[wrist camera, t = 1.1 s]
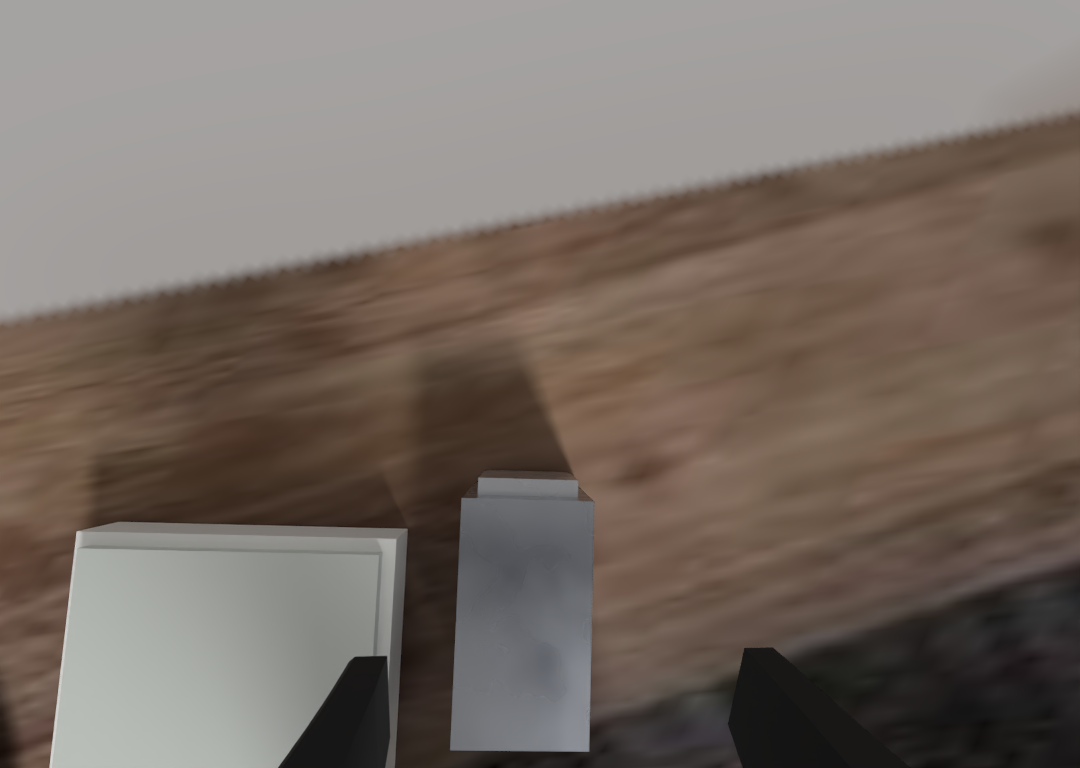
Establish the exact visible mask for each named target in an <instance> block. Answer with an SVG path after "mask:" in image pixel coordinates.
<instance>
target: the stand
mask: <svg viewBox="0 0 1080 768" xmlns="http://www.w3.org/2000/svg"><path fill="white" fill-rule="evenodd" d="M407 537H408V529H398V528H356V527H315V526H273V525H232V524H191V523H149V522H116V523H111V524H107V525H102V526H98V527H94V528H89V529H85V530H81V531H77V534H76V542H75V551H74V560H73V568H72V577H71V586H70V594H69V603H68V612H67V620H66V629H65V638H64V646H63V655H62V663H61V672H60V681H59V689H58V698H57V707H56V715H55V724H54V733H53V741H52V750H51V759H50V767H49V768H278V767H279V766H280V764H281V763H282V761H283V760H284V759H285V757H286V756H287V754H288V753H289V752H290V750H291V749H292V747H293V746H294V745H295V743H296V742H297V740H298V739H299V738H300V736H301V735H302V733H303V732H304V731H305V729H306V728H307V726H308V725H309V723H310V722H311V720H312V719H313V717H314V716H315V714H316V713H317V711H318V710H319V708H320V707H321V706H322V704H323V702H324V701H325V699H326V698H327V696H328V695H329V693H330V692H331V690H332V689H333V687H334V685H335V684H336V682H337V681H338V679H339V677H340V676H341V674H342V672H343V671H344V669H345V667H346V666H347V664H348V662H349V661H350V660H351V659H353V658H354V657H357V656H387V662H388V689H389V716H390V741H389V747H388V754H387V760H386V766H385V768H395V755H396V737H397V719H398V701H399V683H400V664H401V646H402V628H403V610H404V592H405V573H406V555H407Z"/></svg>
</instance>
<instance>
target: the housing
mask: <svg viewBox="0 0 1080 768" xmlns="http://www.w3.org/2000/svg"><path fill="white" fill-rule="evenodd" d="M593 541H594V501H593V500H592V499H591V498H590V497H589V496H588V495H587V494H586V493H585V492H584V491H583V490H582V489H581V488H580V487H579V486H578V480H577V479H576V478H575V477H574V476H572V475H571V474H570V473H569V472H545V471H510V470H485V471H484V472H483V473H482V474H481V475H480V476H479V477H478V483H474V484H473V485H472V487H471V488H470V489H469V490H468V491H467V492H466V493H465V495H464V496H463V497H462V500H461V522H460V544H459V566H458V587H457V609H456V631H455V653H454V675H453V697H452V719H451V741H450V750H459V751H571V752H572V751H576V752H589V731H590V684H591V636H592V588H593Z"/></svg>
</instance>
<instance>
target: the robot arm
mask: <svg viewBox="0 0 1080 768" xmlns="http://www.w3.org/2000/svg"><path fill="white" fill-rule="evenodd" d="M728 725H729V728H730V731H731V734H732V737H733V740H734V743H735V746H736V749H737V752H738V755H739V758H740V761H741V764H742V766H743V768H910V767H909V766H907V765H906V764H905V763H904V762H903V761H901V760H900V759H899V758H898V757H897V756H895V755H894V754H893V753H892V752H891V751H889V750H888V749H887V748H886V747H885V746H884V745H882V744H881V743H880V742H879V741H878V740H877V739H875V738H874V737H873V736H872V735H871V734H870V733H869V732H867V731H866V730H865V729H864V728H863V727H862V726H861V725H859V724H858V723H857V722H856V721H855V720H854V719H853V718H851V717H850V716H849V715H848V714H847V713H846V712H845V711H844V710H842V709H841V708H840V707H839V706H838V705H837V704H836V703H835V702H833V701H832V700H831V699H830V698H829V697H828V696H827V695H826V694H825V693H823V692H822V691H821V690H820V689H819V688H818V687H817V686H816V685H815V684H813V683H812V682H811V681H810V680H809V679H808V678H807V677H806V676H805V675H803V674H802V673H801V672H800V671H799V670H798V669H797V668H796V667H794V666H793V665H792V664H791V663H790V662H789V661H788V660H787V659H785V658H784V657H783V656H782V655H781V654H780V653H778V652H777V651H776V650H775V649H774V648H744V653H743V657H742V662H741V667H740V671H739V676H738V681H737V685H736V690H735V694H734V699H733V704H732V708H731V713H730V718H729V722H728ZM389 741H390V716H389V689H388V662H387V656H357V657H354V658H353V659H351V660H350V661H349V662H348V664H347V666H346V667H345V669H344V671H343V672H342V674H341V676H340V677H339V679H338V681H337V682H336V684H335V685H334V687H333V689H332V690H331V692H330V693H329V695H328V696H327V698H326V699H325V701H324V702H323V704H322V706H321V707H320V708H319V710H318V711H317V713H316V714H315V716H314V717H313V719H312V720H311V722H310V723H309V725H308V726H307V728H306V729H305V731H304V732H303V733H302V735H301V736H300V738H299V739H298V740H297V742H296V743H295V745H294V746H293V747H292V749H291V750H290V752H289V753H288V754H287V756H286V757H285V759H284V760H283V761H282V763H281V764H280V766H279V767H278V768H385V766H386V760H387V754H388V747H389Z"/></svg>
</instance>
